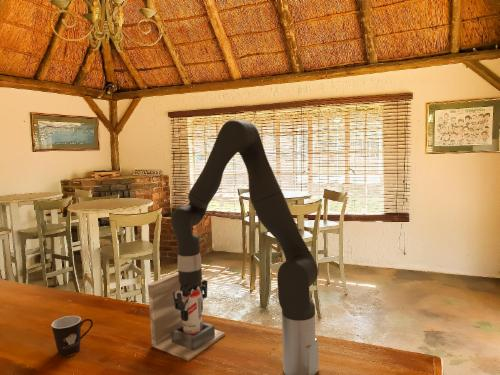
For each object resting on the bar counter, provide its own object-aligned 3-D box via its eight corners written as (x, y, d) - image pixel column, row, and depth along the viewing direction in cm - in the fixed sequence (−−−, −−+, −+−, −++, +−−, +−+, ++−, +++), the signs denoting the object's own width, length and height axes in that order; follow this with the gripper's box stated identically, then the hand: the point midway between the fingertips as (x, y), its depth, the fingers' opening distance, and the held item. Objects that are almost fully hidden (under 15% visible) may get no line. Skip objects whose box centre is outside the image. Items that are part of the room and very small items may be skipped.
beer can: (199, 340, 125) (196, 293, 123) (180, 339, 127) (177, 292, 125) (205, 331, 132) (203, 285, 130) (187, 330, 133) (185, 284, 131)
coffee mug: (51, 360, 121) (48, 330, 120) (57, 346, 130) (54, 318, 128) (91, 354, 124) (89, 324, 123) (94, 340, 133) (92, 312, 131)
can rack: (152, 346, 128) (147, 284, 125) (190, 324, 142) (187, 268, 140) (188, 360, 119) (184, 294, 116) (224, 335, 133) (222, 275, 131)
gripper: (182, 275, 118) (185, 328, 120) (213, 262, 130) (215, 310, 132) (164, 271, 122) (168, 322, 125) (196, 259, 134) (198, 305, 136)
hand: (192, 316), depth 128 cm, fingers closed on beer can, 6 cm apart
